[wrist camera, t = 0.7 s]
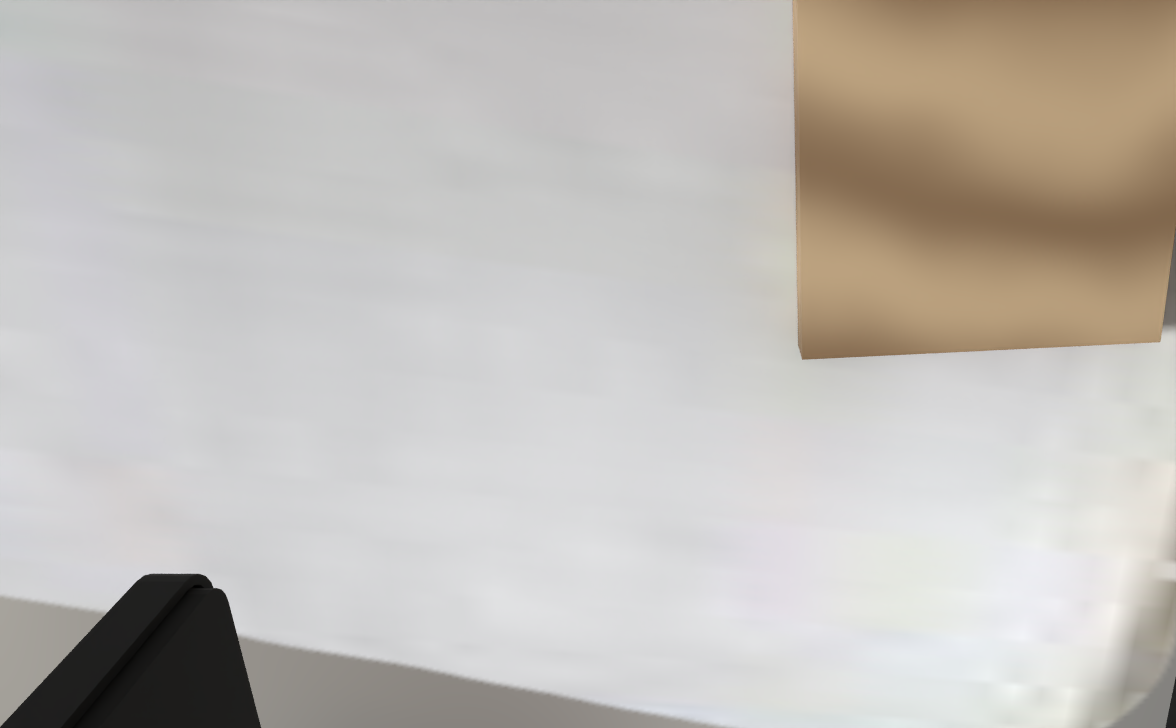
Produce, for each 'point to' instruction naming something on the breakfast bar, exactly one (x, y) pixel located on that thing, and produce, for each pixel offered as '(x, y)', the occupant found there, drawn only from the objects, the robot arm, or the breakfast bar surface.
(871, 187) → the plank
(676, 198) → the breakfast bar surface
